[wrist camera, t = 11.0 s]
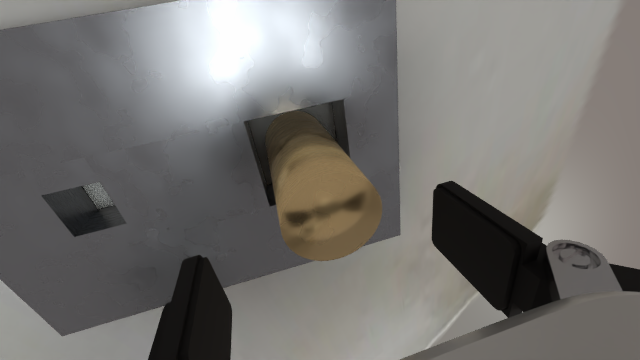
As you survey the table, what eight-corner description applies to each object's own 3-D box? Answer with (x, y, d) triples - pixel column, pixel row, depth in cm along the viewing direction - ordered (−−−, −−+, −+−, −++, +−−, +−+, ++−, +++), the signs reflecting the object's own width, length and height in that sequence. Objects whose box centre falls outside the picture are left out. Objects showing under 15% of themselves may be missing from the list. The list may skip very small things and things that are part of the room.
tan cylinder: (328, 160, 21) (384, 244, 13) (273, 174, 21) (292, 272, 12) (319, 104, 19) (379, 160, 11) (258, 118, 19) (268, 189, 10)
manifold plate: (384, 214, 25) (400, 234, 23) (84, 300, 22) (62, 336, 19) (371, -24, 16) (395, -35, 14) (-136, 61, 13) (-230, 67, 11)
